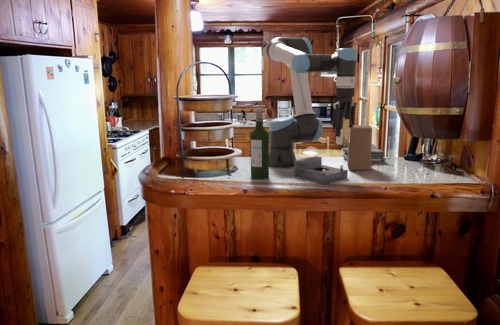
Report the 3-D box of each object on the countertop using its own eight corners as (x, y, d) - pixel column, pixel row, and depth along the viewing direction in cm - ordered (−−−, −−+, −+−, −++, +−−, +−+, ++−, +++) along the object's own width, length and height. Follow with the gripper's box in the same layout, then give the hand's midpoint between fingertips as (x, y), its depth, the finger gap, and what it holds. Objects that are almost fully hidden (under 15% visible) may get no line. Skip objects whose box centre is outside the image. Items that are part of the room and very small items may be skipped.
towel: (341, 159, 212) (341, 144, 210) (374, 157, 214) (374, 143, 212) (351, 165, 197) (352, 149, 195) (387, 163, 199) (387, 148, 197)
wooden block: (370, 171, 182) (372, 127, 178) (348, 170, 184) (349, 127, 180) (368, 166, 192) (370, 125, 188) (347, 165, 194) (348, 124, 190)
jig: (294, 175, 176) (294, 160, 174) (316, 171, 184) (316, 156, 182) (324, 183, 161) (325, 167, 160) (347, 178, 170) (347, 162, 168)
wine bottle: (270, 175, 177) (270, 107, 171) (266, 179, 170) (266, 109, 163) (253, 174, 179) (252, 107, 173) (249, 178, 171) (247, 109, 165)
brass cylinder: (335, 147, 169) (336, 118, 166) (341, 145, 172) (343, 118, 169) (343, 148, 166) (345, 119, 163) (350, 147, 168) (351, 118, 166)
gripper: (339, 88, 155) (336, 147, 160) (365, 86, 165) (362, 142, 171) (324, 87, 160) (322, 144, 166) (351, 86, 171) (348, 139, 176)
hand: (342, 143), depth 168 cm, fingers closed on brass cylinder, 4 cm apart
